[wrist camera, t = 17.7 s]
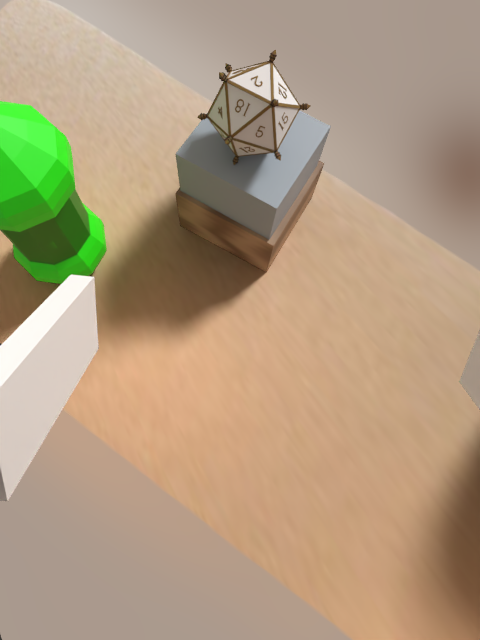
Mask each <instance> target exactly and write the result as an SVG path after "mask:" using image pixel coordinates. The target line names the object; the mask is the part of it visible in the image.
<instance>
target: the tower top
mask: <svg viewBox="0 0 480 640" xmlns="http://www.w3.org/2000/svg"><path fill="white" fill-rule="evenodd" d="M330 127H331V126H329V125H327V124H325V123H323V122H321V121H319V120H317V119H315V118H313V117H311V116H309V115H308V114H306V113H304V112H302V111H300V110H299V112H298V114H297V116H296V118H295V120H294V121H293V123H292V125H291V127H290V129H289V131H288V132H287V134H286V136H285V138H284V140H283V142H282V143H281V145H280V147H279V149H278V152H280V155H281V161H280V160H278V159H276V157H275V154H274V153H267V154H259V155H250V156H241V157H239V160H238V163H236V164H235V165H234V164H233V160H234V157H235V154H234V153H233V152H232V150H231V149H230V148H229V146H228V145H227V144H225V141H224V140H223V138H222V137H221V136H220V134H219V133H218V132H217V130H216V129H215V128H214V126H213V125H212V124H211V122H210V121H209V120H208V118H206V119H205V120H204V119H203V120H202V121H201V122H200V123H199V125H198V126H197V127H196V128H195V130H194V131H193V132H192V134H191V135H190V136H189V137H188V139H187V140H186V141H185V143H184V144H183V145H182V146H181V148H180V149H179V150H178V152H177V153H176V160H177V168H178V176H179V183H180V191H182V192H184V193H185V194H187V195H189V196H191V197H193V198H194V199H196V200H198V201H200V202H202V203H203V204H205V205H207V206H209V207H211V208H213V209H214V210H216V211H218V212H220V213H222V214H223V215H225V216H227V217H229V218H231V219H232V220H234V221H236V222H238V223H240V224H241V225H243V226H245V227H247V228H249V229H251V230H252V231H254V232H256V233H258V234H260V235H261V236H263V237H265V238H267V239H270V238H271V236H272V235H273V233H274V232H275V230H276V229H277V227H278V225H279V224H280V222H281V221H282V219H283V218H284V216H285V215H286V213H287V212H288V210H289V208H290V207H291V205H292V204H293V202H294V201H295V199H296V198H297V196H298V194H299V193H300V191H301V190H302V188H303V187H304V185H305V184H306V182H307V180H308V179H309V177H310V176H311V174H312V173H313V171H314V170H315V168H316V166H317V165H318V162H319V159H320V156H321V153H322V150H323V147H324V144H325V142H326V139H327V136H328V133H329V130H330Z"/></svg>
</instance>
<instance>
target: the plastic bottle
mask: <svg viewBox="0 0 480 640" xmlns="http://www.w3.org/2000/svg"><path fill="white" fill-rule="evenodd" d="M0 230H1V231H2V232H3V233H4V235H5V236H6V237H7V238H8V239H9V240H10V241H11V242H12V243H13V253H14V258H15V259H16V260H17V261H18V262H19V263H20V264H21V265H22V266H23V267H24V268H25V269H26V270H27V271H28V272H29V273H30V274H31V275H32V276H33V277H34V278H35V279H36V280H37V281H43V282H50V283H58V284H62V283H63V282H64V281H65V280H66V279H67V278H68V277H69V276H70V275H81V276H89V275H91V274H92V273H93V272H94V270H95V269H96V267H97V266H98V264H99V262H100V261H101V259H102V258H103V256H104V254H105V252H106V241H105V233H104V225H103V223H102V221H101V220H100V219H99V218H98V217H97V216H96V215H95V214H94V213H93V212H92V211H91V210H90V209H89V208H87V207H86V206H85V205H84V204H83V203H82V202H81V200H80V198H79V196H78V194H77V192H76V190H75V180H74V170H73V159H72V152H71V147H70V144H69V142H68V140H67V138H66V136H65V135H64V134H63V133H61V132H60V131H59V130H58V129H57V128H56V127H55V126H54V125H52V124H51V123H50V122H49V121H48V120H47V119H46V118H45V117H44V116H42V115H41V114H40V113H39V112H38V111H37V110H35V109H34V108H33V107H32V106H30V105H23V104H16V103H9V102H2V101H0Z"/></svg>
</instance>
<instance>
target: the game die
mask: <svg viewBox="0 0 480 640" xmlns="http://www.w3.org/2000/svg"><path fill="white" fill-rule="evenodd" d="M275 57H276V50H274V51H273V52H272V53H271V55H270V60H269V61H267V62H263V63H259V64H255V65H252V66H248V67H244V68H240V69H236V70H232V67H231V65H228V64H226V67H225V69H226V70H227V72H229V74H228V75H227V76H226V75H225V74H224V73H219V78H220V79H221V81H224V82H223V84H222V86H221V88H220V90H219V92H218V94H217V96H216V98H215V100H214V102H213V104H212V106H211V107H210V109H209V111H208V113H207V114H204V113H203V114H202V113H201V114H200V115H199V116H198V118H199V119H201V120H203V119H204V120H205V119H206V118H208V120H209V121H210V122H211V124H212V125H213V126H214V128H215V129H216V130H217V132H218V133H219V134H220V136H221V137H222V138H223V140H224V141H225V144H227V145H228V146H229V148H230V149H231V150H232V152H233V153H234V154H235V157H234V160H233V164H234V165H235V164H236V163H238V160H239V157H241V156H250V155H259V154H267V153H274V154H275V157H276V159H278V160H280V161H281V155H280V152H278V149H279V147H280V145H281V143H282V142H283V140H284V138H285V136H286V134H287V132H288V131H289V129H290V127H291V125H292V123H293V121H294V120H295V118H296V116H297V114H298V112H299V110H300V109H302V110H307V109H308V108H309V107H310V105H308V104H302V105H300V104H299V103H298V101H297V100H296V98H295V97H294V95H293V93H292V92H291V90H290V89H289V87H288V85H287V84H286V82H285V81H284V79H283V77H282V76H281V74H280V73H279V71H278V70H277V68H276V66H275V65H274V63H273V61H274V60H275Z"/></svg>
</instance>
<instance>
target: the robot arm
mask: <svg viewBox="0 0 480 640" xmlns="http://www.w3.org/2000/svg"><path fill="white" fill-rule="evenodd" d="M98 348H99V347H98V331H97V314H96V298H95V282H94V277H91V276H81V275H70V276H69V277H68V278H67V279H66V280H65V281H64V282H63V283H62V284H61V285H60V286H59V287H58V288H57V289H56V290H55V291H54V292H53V293H52V294H51V295H50V296H49V297H48V298H47V299H46V300H45V301H44V302H43V303H42V304H41V305H40V306H39V307H38V308H37V309H36V310H35V311H34V312H33V313H32V314H31V315H30V316H29V317H28V318H27V319H26V320H25V321H24V322H23V323H22V324H21V325H20V326H19V327H18V328H17V329H16V330H15V331H14V332H13V334H12V335H11V336H10V337H9V338H8V339H7V340H6V341H5V342H4V343H3V344H0V501H8V500H9V498H10V496H11V495H12V493H13V491H14V490H15V488H16V486H17V485H18V483H19V481H20V479H21V478H22V476H23V475H24V473H25V471H26V469H27V468H28V466H29V464H30V463H31V461H32V459H33V458H34V456H35V454H36V453H37V451H38V449H39V448H40V446H41V444H42V443H43V441H44V439H45V438H46V436H47V434H48V432H49V431H50V429H51V427H52V426H53V424H54V422H55V421H56V419H57V417H58V416H59V414H60V412H61V411H62V409H63V407H64V406H65V404H66V402H67V401H68V399H69V397H70V396H71V394H72V392H73V391H74V389H75V387H76V385H77V384H78V382H79V380H80V379H81V377H82V375H83V374H84V372H85V370H86V369H87V367H88V365H89V364H90V362H91V360H92V359H93V357H94V355H95V354H96V352H97V350H98ZM459 382H460V384H461V385H462V386H463V388H464V389H465V390H466V392H467V393H468V395H469V396H470V397H471V399H472V400H473V402H474V403H475V404H476V406H477V407H478V408H479V410H480V330H479V333H478V336H477V338H476V341H475V343H474V346H473V348H472V351H471V353H470V356H469V358H468V361H467V363H466V366H465V368H464V371H463V374H462V376H461V379H460V381H459ZM0 640H2V639H1V635H0Z"/></svg>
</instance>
